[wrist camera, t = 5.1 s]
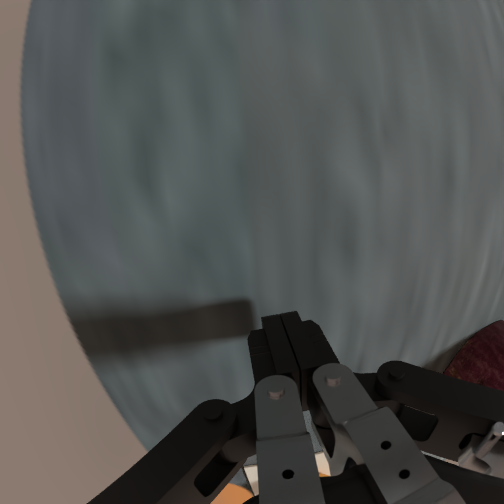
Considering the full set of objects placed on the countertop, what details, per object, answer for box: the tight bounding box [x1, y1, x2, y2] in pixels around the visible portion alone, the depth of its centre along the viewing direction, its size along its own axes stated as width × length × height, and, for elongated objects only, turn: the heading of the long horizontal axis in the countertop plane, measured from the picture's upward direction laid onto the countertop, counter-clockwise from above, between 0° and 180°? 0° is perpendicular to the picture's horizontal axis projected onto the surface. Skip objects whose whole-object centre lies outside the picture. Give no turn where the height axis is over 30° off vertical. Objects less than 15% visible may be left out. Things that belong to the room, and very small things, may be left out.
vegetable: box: [443, 320, 504, 391], centre depth 12 cm, size 10×10×15 cm
